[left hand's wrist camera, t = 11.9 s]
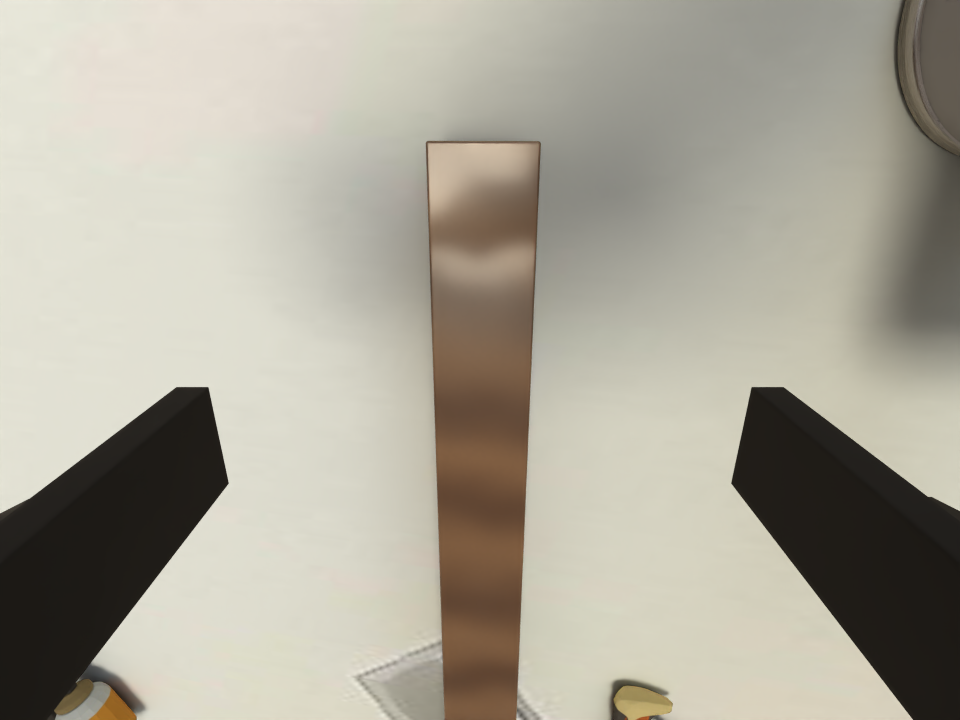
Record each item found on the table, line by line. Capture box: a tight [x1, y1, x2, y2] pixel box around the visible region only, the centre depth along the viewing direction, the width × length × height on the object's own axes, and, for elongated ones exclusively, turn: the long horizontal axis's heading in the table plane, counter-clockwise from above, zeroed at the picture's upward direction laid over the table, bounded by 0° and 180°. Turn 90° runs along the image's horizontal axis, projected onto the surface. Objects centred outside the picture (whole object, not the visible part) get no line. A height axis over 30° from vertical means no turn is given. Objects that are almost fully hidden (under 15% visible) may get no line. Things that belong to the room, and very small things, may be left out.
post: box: [426, 141, 541, 720], centre depth 40 cm, size 78×5×8 cm, turn 0°
